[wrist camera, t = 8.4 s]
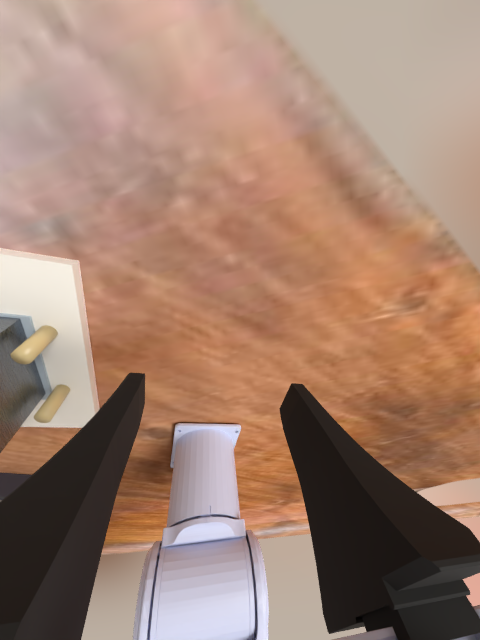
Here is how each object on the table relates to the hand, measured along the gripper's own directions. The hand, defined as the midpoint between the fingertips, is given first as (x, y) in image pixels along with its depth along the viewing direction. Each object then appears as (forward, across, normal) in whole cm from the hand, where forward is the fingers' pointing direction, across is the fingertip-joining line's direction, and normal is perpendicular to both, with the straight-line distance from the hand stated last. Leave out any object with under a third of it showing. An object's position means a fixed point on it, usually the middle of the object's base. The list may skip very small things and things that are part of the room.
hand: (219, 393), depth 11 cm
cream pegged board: (+9, +16, +7) cm, 20 cm away
